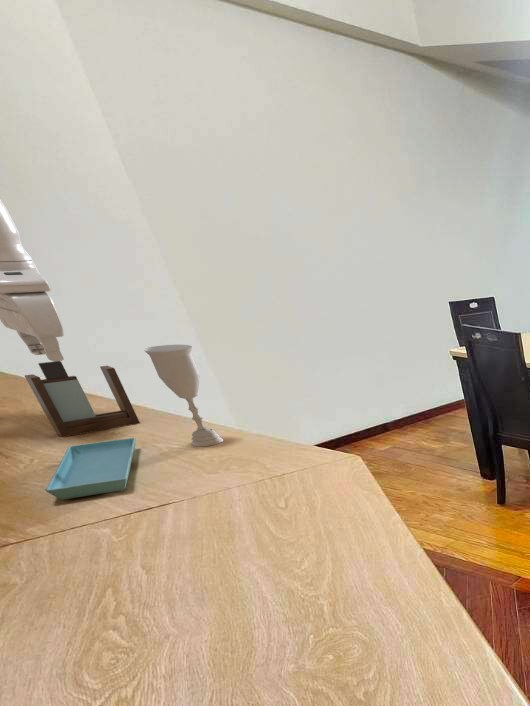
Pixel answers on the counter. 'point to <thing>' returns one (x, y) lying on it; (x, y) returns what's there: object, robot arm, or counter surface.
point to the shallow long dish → (93, 469)
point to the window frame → (88, 424)
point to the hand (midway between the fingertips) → (48, 357)
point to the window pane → (65, 392)
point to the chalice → (182, 383)
